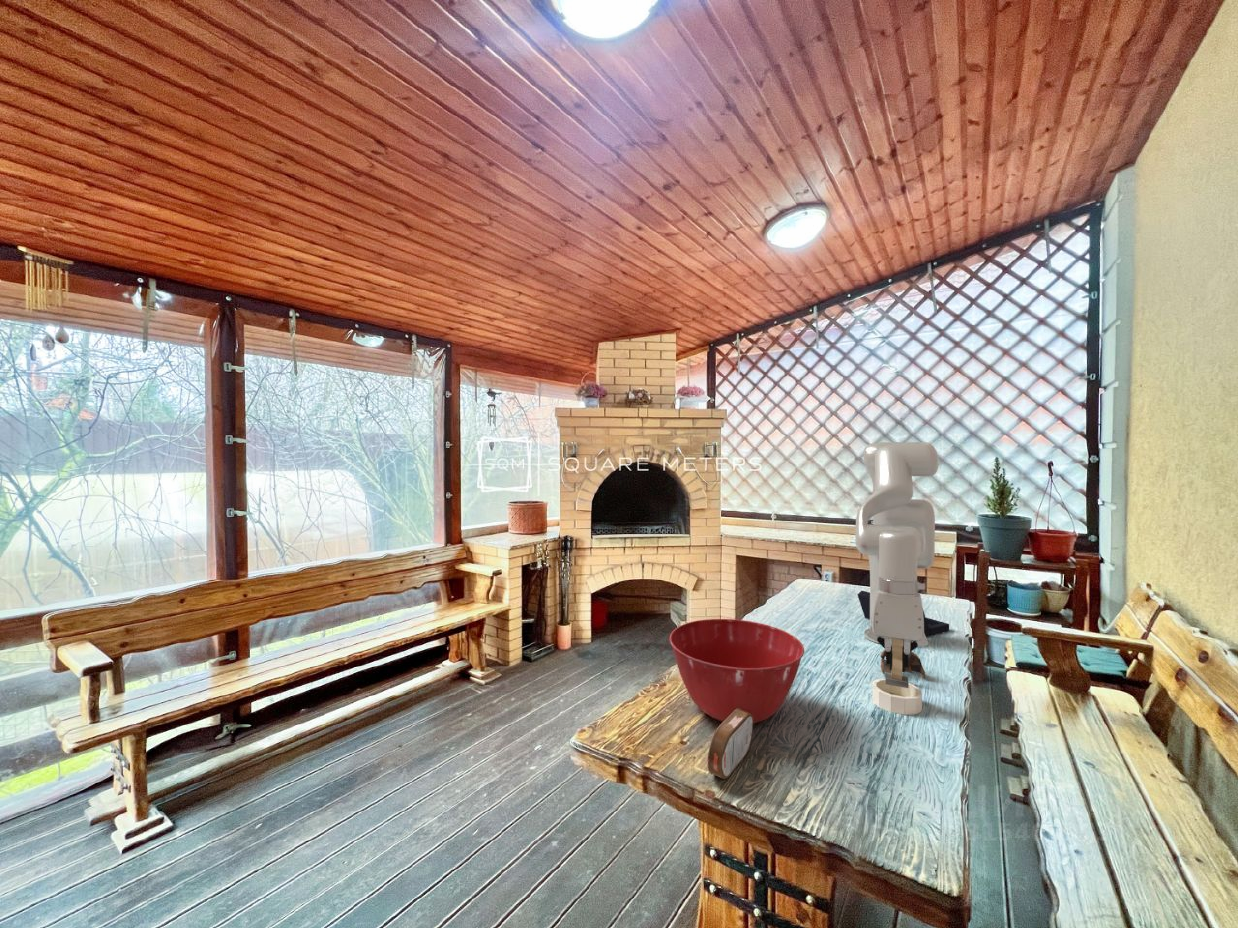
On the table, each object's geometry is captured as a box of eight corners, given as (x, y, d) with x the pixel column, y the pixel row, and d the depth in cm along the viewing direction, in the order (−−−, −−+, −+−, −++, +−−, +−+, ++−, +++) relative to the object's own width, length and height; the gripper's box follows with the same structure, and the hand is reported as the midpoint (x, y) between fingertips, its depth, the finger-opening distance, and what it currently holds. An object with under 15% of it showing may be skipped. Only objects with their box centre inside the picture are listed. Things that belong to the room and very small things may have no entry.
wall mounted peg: (885, 677, 116) (885, 632, 116) (907, 681, 114) (907, 635, 114) (885, 684, 112) (886, 637, 112) (908, 688, 110) (909, 640, 110)
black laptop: (949, 631, 160) (949, 600, 160) (917, 640, 153) (917, 607, 153) (888, 613, 179) (888, 585, 179) (857, 620, 171) (857, 591, 171)
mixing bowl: (827, 709, 111) (827, 639, 111) (758, 765, 91) (758, 680, 91) (718, 670, 131) (718, 610, 131) (643, 709, 111) (643, 639, 111)
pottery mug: (935, 686, 122) (921, 658, 121) (896, 698, 125) (882, 671, 123) (914, 656, 134) (902, 630, 133) (879, 668, 136) (866, 643, 135)
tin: (740, 742, 98) (740, 699, 98) (756, 748, 97) (756, 704, 96) (705, 783, 86) (705, 734, 86) (722, 790, 84) (723, 740, 84)
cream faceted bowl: (871, 690, 120) (872, 675, 120) (919, 698, 116) (919, 683, 116) (872, 708, 111) (872, 692, 111) (923, 718, 107) (923, 701, 107)
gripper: (936, 586, 113) (935, 668, 113) (858, 579, 120) (857, 656, 120) (941, 594, 106) (940, 682, 107) (858, 586, 113) (857, 668, 113)
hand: (896, 668), depth 113 cm, fingers closed on wall mounted peg
